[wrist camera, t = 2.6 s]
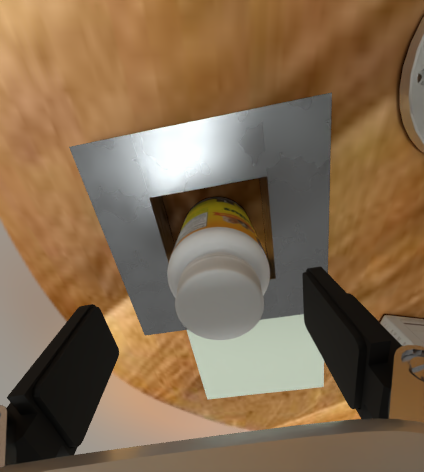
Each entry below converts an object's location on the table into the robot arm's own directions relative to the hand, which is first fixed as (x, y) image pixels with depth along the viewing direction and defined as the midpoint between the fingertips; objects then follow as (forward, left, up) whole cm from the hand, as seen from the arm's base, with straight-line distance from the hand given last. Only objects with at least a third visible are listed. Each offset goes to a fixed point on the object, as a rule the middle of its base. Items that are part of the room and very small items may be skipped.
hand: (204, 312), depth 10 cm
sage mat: (-3, +16, -10) cm, 19 cm away
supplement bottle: (-1, 0, -10) cm, 10 cm away
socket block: (-1, 0, -10) cm, 10 cm away
